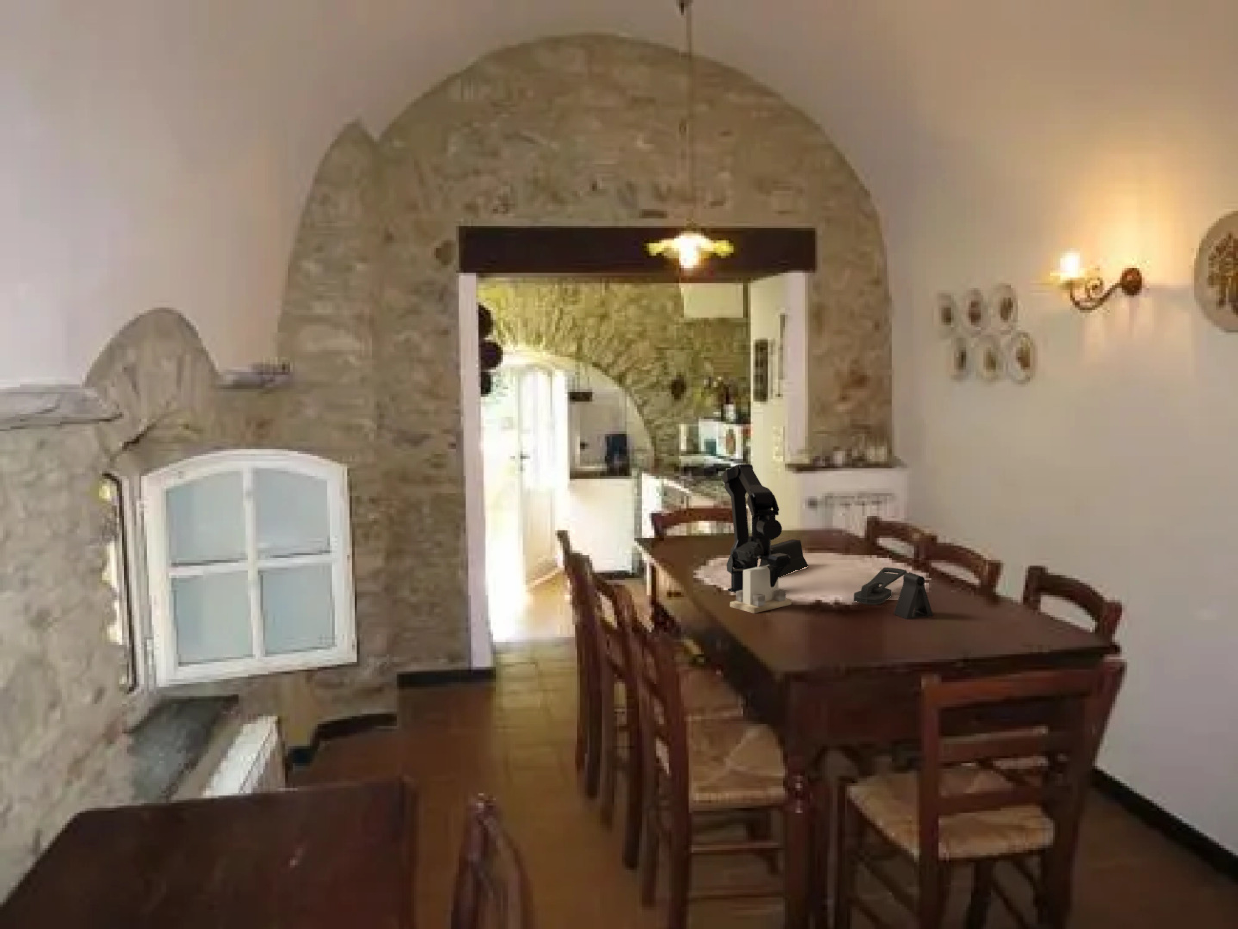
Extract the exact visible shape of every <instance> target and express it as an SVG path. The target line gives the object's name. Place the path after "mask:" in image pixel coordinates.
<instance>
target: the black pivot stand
mask: <svg viewBox="0 0 1238 929" xmlns="http://www.w3.org/2000/svg"><path fill="white" fill-rule="evenodd" d="M902 577H903V583H902V586H901V590H900V593H899V595H898V599H897V602H896V605H895V608H894V611H893V614H894V615H895V616H899V617H900V618H902V619H905V620H912V619H920V618H930V617H933V616H934V614H933V610H932V606H931V604H930V600H929V597H928V593H927V591H926V586H925V582H926V578H925V577H924V576H922V575H920V574H916V573H912V572H910V571H909V572H908V571H907V572H906V573H905V574H904V575H903V576H902Z"/></svg>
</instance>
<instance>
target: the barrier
mask: <svg viewBox="0 0 1238 929" xmlns="http://www.w3.org/2000/svg"><path fill="white" fill-rule="evenodd" d="M771 549H772V550H774V553H772V554H777V553H782V554H787V555H789V556H790V564H788V565H787V566H786V567H784V569H783V570H782V572H781V573H780V575H779V577H780V578H782V577H781V576H783V575H786V574H788V573H791V572H793V571H795V570H800V569H802V568H804V567H807V566H809V564H808V562H807V560H806V558H805V556H804V553H803V547H802V541H801V540H800V539H789V540H786V541H782V542H779V543H775V544H771ZM772 554H771V555H772ZM763 557H765V556H763ZM766 565H769V564H768V562H767V560H763V559H760V561H759V565H758V567H760V566H766ZM800 571H801V570H800ZM786 576H787V575H786ZM783 577H784V576H783Z"/></svg>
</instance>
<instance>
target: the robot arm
mask: <svg viewBox="0 0 1238 929" xmlns="http://www.w3.org/2000/svg"><path fill="white" fill-rule="evenodd" d="M722 482H723V484H724V490H725V491H726V492H727V494H728V495H729V497H730V501H731V502H730V503H731V514H732V524H733V526H732V527H733V537H734V538H733V539H734V541H733V545H732V546H731V548H730V550H729V551H730V553H729V557H728V559H727V562H726V572H728V573H729V574H731V575H730V576H731V577H730V578H731V579H730V580H731V581H730V582H731V583H730V587H729V588H727V591H730V592H733V593H734V592H735V593H736V591H740V590H743V570H745V569H750V568H755V567H758V566H759V565H758V564H759V560H761V559H763V560H767V562H768V564H769V565H768V566H767V567H768V569H769V570H770V586H771V587H774V586H775V584H776V582H777V579H778V580H779V578H778V577H779V575H780V573H781V572H782V570H783V569H784V567H786V566H787V565H788V564H790V556H789V555H787V554H782V553H777V554H772V553H774V550H772V549H771V545H772V540H773V541H774V540H775V539H777V538H778V537H780V536H781V534H782V531H783V527H782V524H781V522H780V521H778V519H776V516H779V513H780V512H779V511H780V507H779V505H778V501H777V499H776V496H775V494H773V492H772V490H771V489H770V488H768V487H766V486H764V485H763V484H762V483H761V481H760V480H759V478H758V477H757V474H756V473H755V471H754V466H753V465H752V464H750V463H739V464H738V463H737V464H736V465H734V466H732V467H730V468H726V469H725V471H724V472H723V473H722ZM746 495H747V497H746ZM747 506H748V509H749V512H750V516H751V535H750V534H749V524H748V521H749V520H748V512H747ZM771 554H772V555H771ZM763 556H765V557H763Z"/></svg>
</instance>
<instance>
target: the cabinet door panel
mask: <svg viewBox="0 0 1238 929" xmlns="http://www.w3.org/2000/svg"><path fill="white" fill-rule="evenodd" d="M767 566H768V565H766V566H760V567H759V566H757V567H755V568H750V569H745V570H743V603H745V604H749V605H752V604H753V595H758V594H762V595H765V601H769V600H774V591H776V590H779V578H778V579H777V582H776V584H775V586H774V587H771V586H770V570H769V569H768V567H767Z"/></svg>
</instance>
